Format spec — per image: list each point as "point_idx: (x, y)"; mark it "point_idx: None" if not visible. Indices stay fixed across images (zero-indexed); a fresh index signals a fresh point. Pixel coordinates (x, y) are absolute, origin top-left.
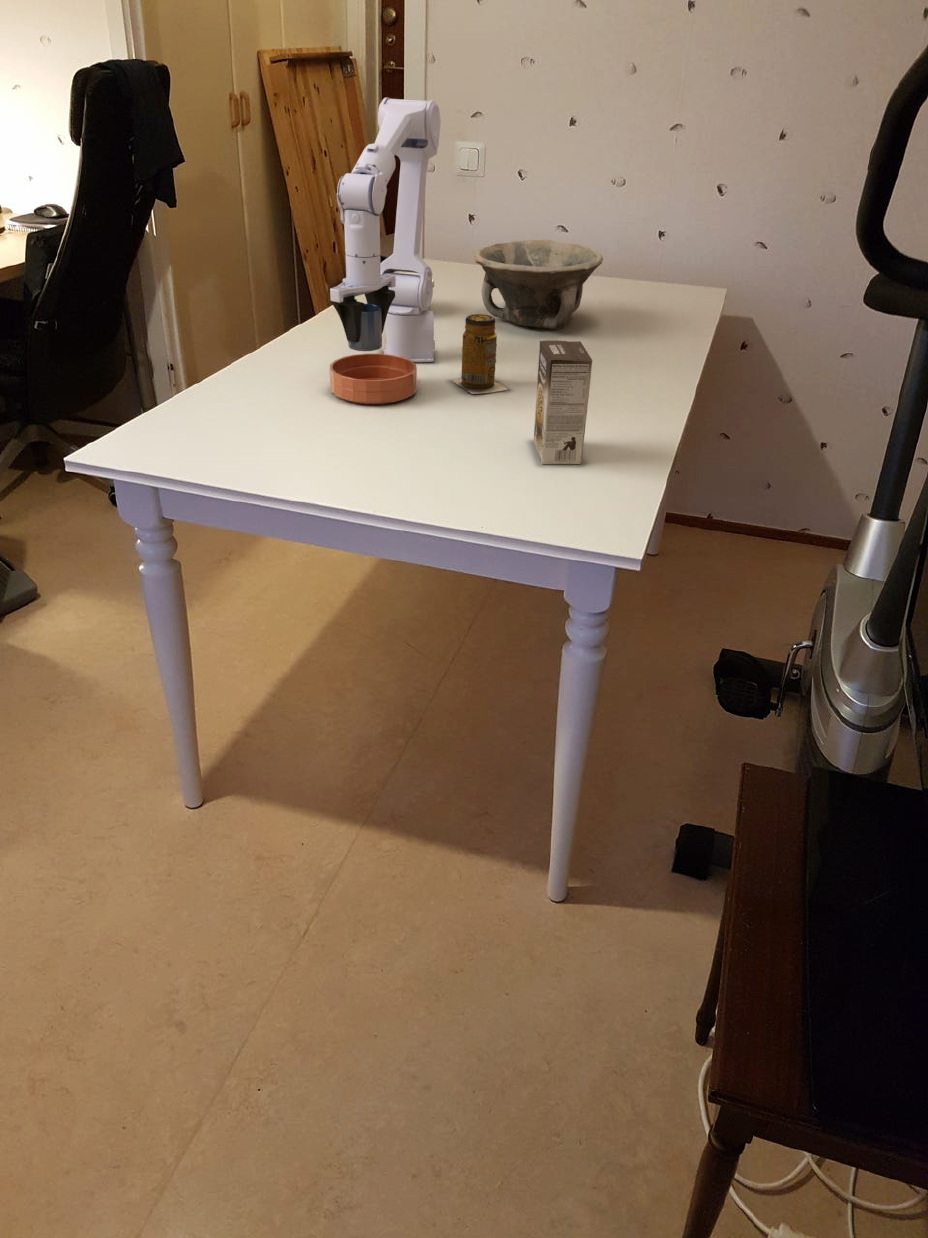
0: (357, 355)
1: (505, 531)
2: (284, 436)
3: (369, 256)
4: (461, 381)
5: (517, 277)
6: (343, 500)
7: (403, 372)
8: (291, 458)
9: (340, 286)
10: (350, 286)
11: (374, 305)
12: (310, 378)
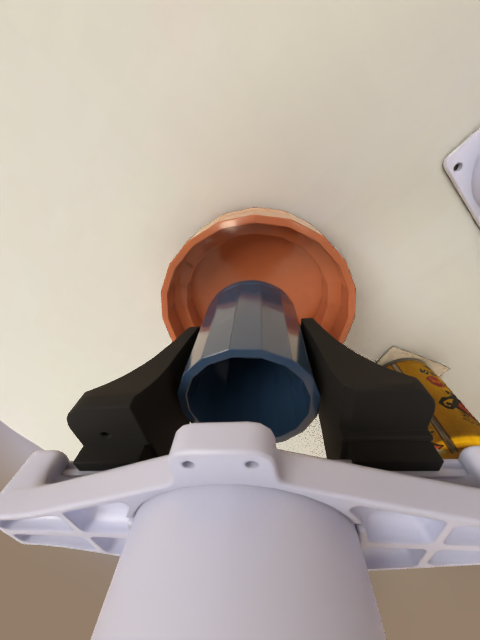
0: (294, 229)
1: None
2: (39, 333)
3: None
4: (396, 358)
5: None
6: (52, 449)
7: (321, 323)
8: (30, 379)
9: (65, 514)
10: (122, 531)
11: (308, 404)
12: (209, 116)
